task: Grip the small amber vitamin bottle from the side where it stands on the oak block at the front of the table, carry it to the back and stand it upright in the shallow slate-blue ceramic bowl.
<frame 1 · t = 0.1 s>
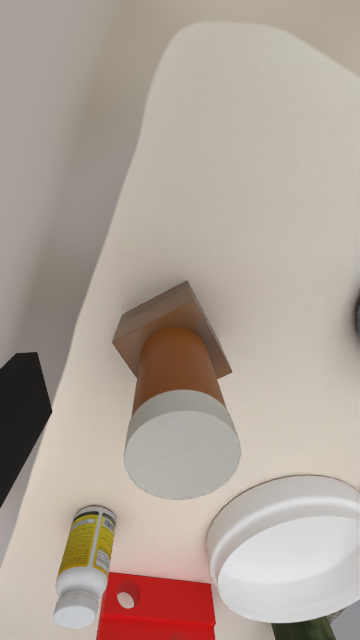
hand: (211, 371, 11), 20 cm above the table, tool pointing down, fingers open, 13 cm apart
round white tray: (287, 533, 46), on the table
pill bottle: (95, 517, 42), on the table
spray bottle: (295, 612, 55), on the table
bracket: (153, 593, 50), on the table
vitamin bottle: (174, 357, 25), point 7 cm above the table, touching riser
riser: (171, 327, 32), on the table
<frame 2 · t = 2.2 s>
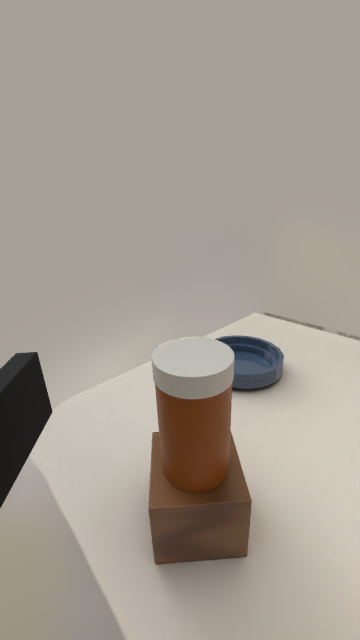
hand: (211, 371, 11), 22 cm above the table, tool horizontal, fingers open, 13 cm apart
bowl: (240, 369, 52), on the table
vitamin bottle: (195, 461, 25), point 7 cm above the table, touching riser
riser: (196, 513, 28), on the table
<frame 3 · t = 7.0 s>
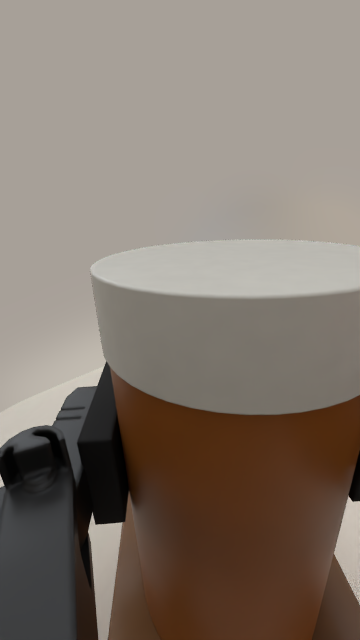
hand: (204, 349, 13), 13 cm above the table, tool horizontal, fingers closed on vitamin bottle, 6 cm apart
vitamin bottle: (226, 561, 10), point 7 cm above the table, touching gripper, riser
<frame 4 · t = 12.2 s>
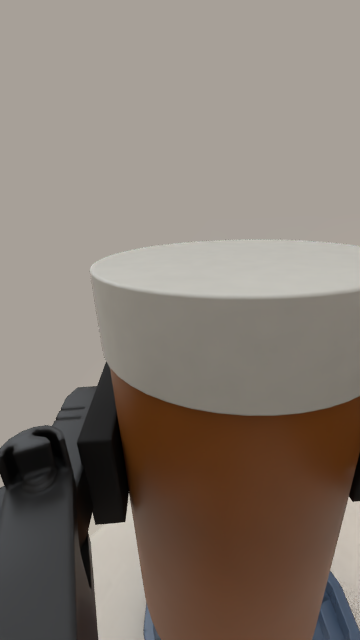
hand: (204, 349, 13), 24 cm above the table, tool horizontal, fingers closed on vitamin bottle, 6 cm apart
bowl: (244, 632, 21), on the table
vitamin bottle: (226, 562, 10), point 18 cm above the table, touching gripper
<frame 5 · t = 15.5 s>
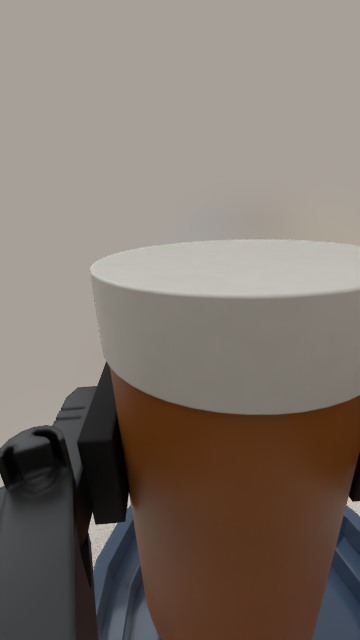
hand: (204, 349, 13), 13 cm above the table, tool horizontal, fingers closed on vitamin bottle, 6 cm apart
bowl: (247, 638, 13), on the table
vitamin bottle: (226, 561, 10), point 7 cm above the table, touching gripper
when the fingers open (7 cm above the table, at t = 17.6 s): vitamin bottle stays where it is, resting on bowl.
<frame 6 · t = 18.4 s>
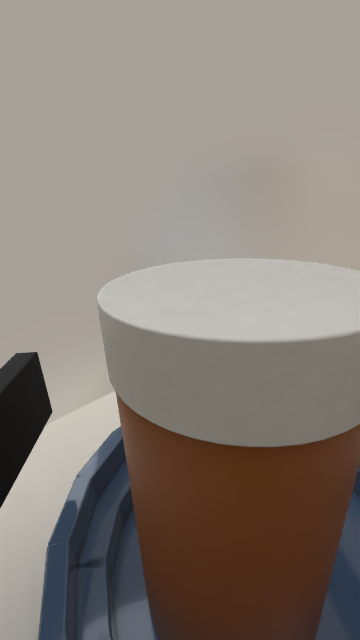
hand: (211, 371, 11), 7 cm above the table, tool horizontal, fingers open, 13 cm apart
bowl: (257, 565, 11), on the table
vitamin bottle: (228, 571, 10), point 1 cm above the table, touching bowl
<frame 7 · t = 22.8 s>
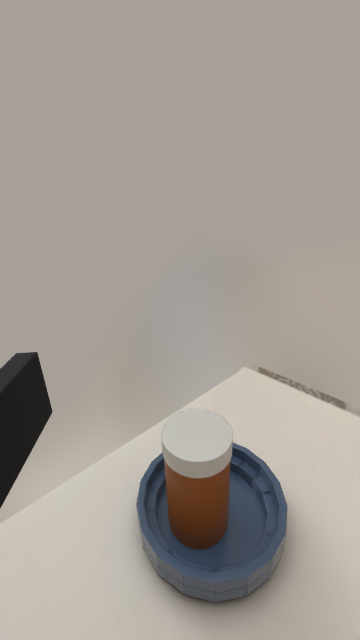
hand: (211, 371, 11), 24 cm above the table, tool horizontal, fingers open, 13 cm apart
bowl: (209, 516, 29), on the table
vitamin bottle: (198, 516, 29), point 1 cm above the table, touching bowl
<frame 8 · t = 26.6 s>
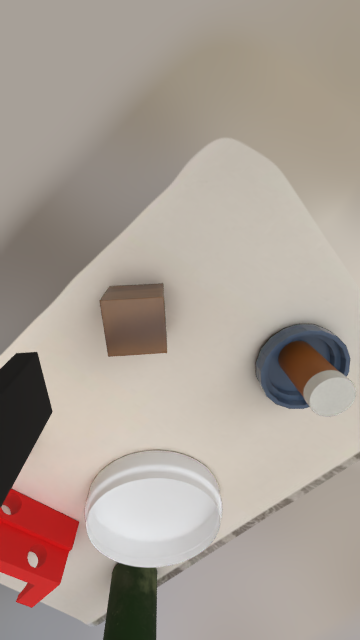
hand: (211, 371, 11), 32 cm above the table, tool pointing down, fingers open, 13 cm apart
round white tray: (155, 498, 59), on the table
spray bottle: (135, 569, 67), on the table
bowl: (295, 361, 48), on the table
bracket: (28, 516, 58), on the table
vitamin bottle: (295, 356, 47), point 1 cm above the table, touching bowl
riser: (138, 310, 43), on the table
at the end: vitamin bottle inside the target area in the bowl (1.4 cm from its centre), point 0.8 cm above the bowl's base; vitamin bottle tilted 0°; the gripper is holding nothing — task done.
